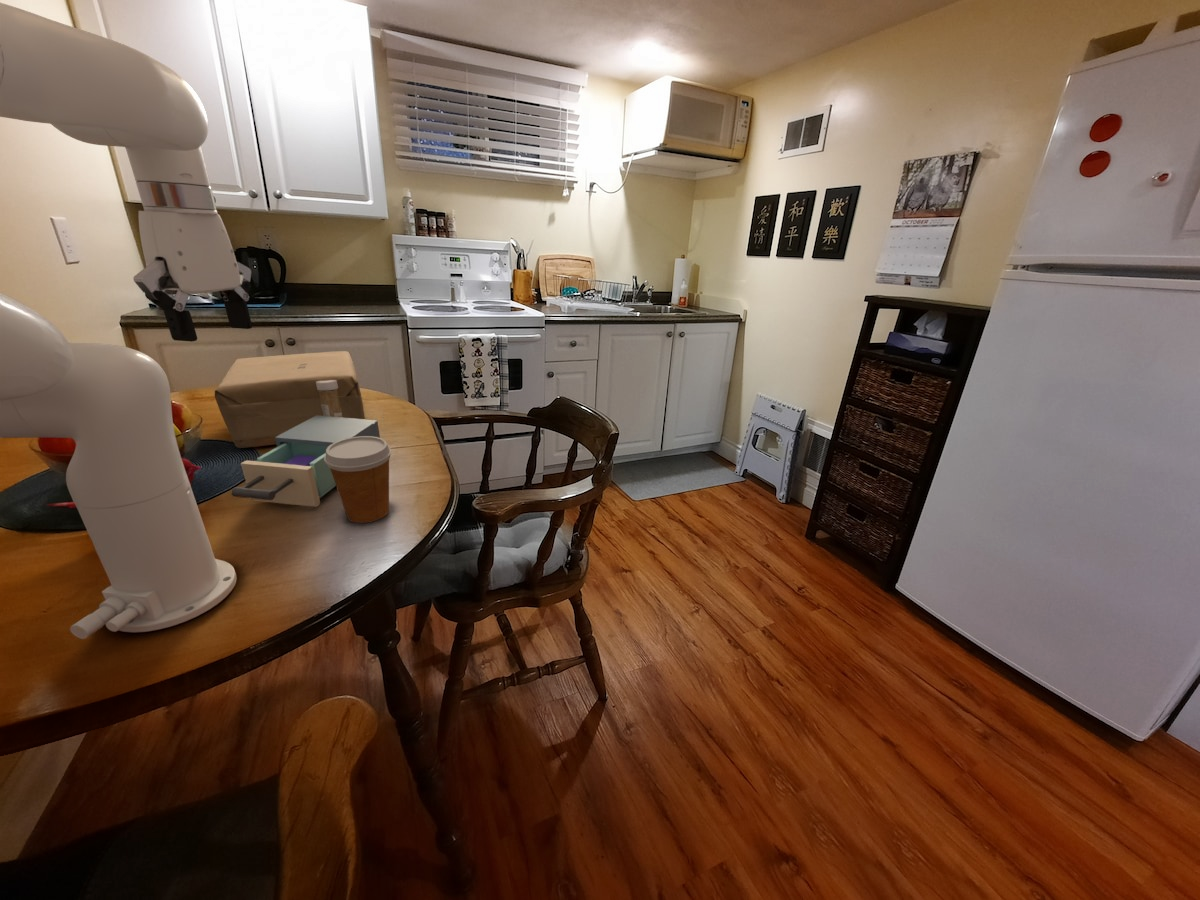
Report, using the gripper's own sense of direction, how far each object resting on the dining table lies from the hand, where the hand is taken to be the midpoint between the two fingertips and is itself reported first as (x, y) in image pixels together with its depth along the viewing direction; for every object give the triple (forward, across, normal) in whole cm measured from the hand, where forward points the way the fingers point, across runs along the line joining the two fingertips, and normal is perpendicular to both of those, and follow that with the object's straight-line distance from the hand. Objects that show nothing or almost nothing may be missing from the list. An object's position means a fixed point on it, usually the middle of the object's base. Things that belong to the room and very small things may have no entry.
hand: (215, 333), depth 70 cm
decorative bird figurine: (+28, +9, -12) cm, 32 cm away
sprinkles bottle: (+28, -28, -4) cm, 40 cm away
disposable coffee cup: (+28, -1, +18) cm, 34 cm away
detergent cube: (+26, -5, +4) cm, 27 cm away
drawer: (+27, -2, +4) cm, 28 cm away
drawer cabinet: (+28, -14, +4) cm, 32 cm away
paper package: (+28, -34, -16) cm, 47 cm away
